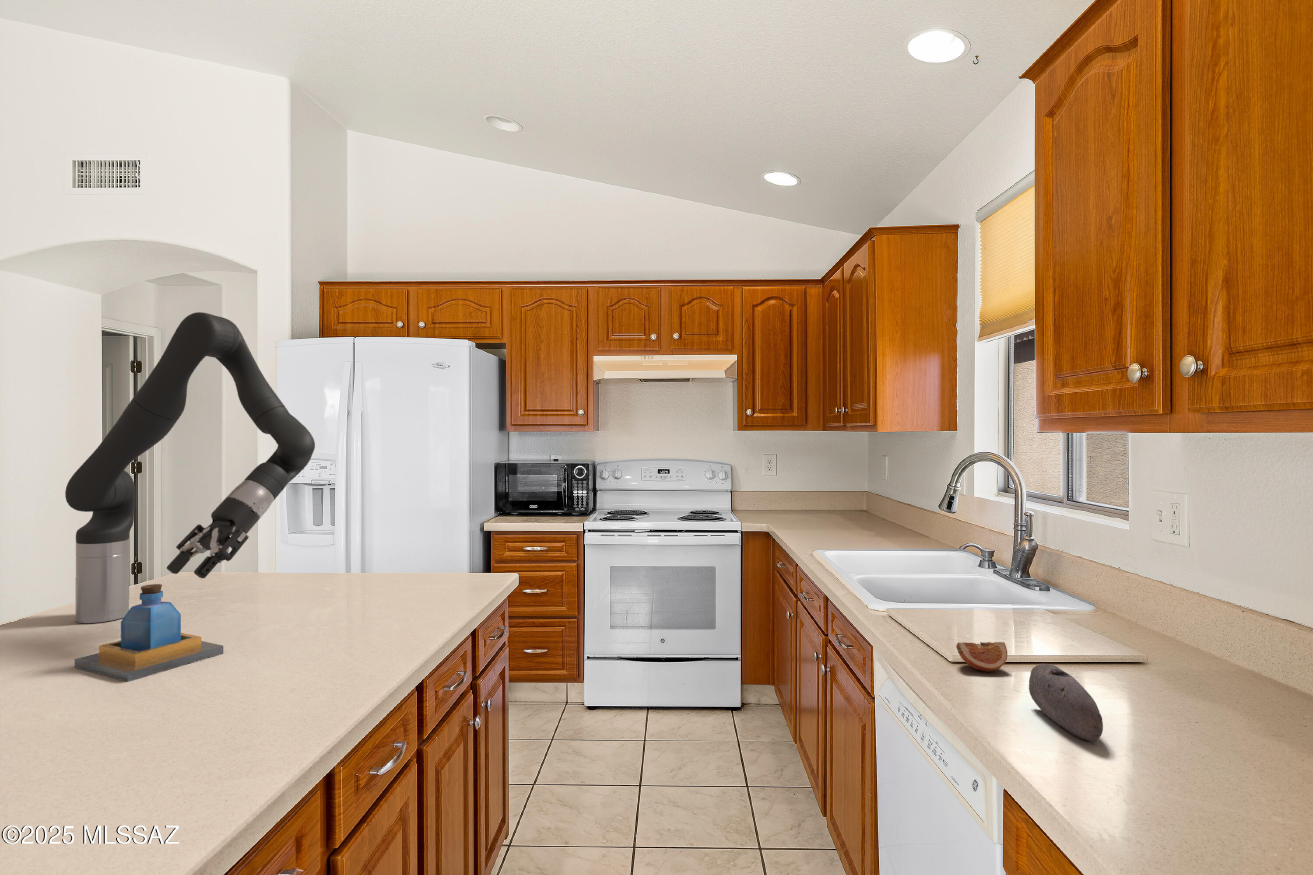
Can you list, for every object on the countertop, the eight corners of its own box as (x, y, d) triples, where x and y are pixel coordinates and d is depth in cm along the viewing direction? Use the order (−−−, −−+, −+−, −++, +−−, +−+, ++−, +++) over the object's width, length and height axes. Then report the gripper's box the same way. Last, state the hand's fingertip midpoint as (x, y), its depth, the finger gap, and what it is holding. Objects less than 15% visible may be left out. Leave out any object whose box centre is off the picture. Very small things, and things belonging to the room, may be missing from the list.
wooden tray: (74, 667, 120) (74, 647, 120) (171, 642, 134) (171, 624, 134) (127, 681, 113) (127, 660, 113) (223, 653, 127) (223, 634, 127)
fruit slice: (964, 675, 118) (964, 646, 117) (949, 662, 124) (949, 635, 124) (1013, 676, 117) (1013, 647, 117) (995, 663, 124) (995, 636, 124)
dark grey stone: (1118, 752, 89) (1118, 699, 89) (1076, 750, 90) (1076, 698, 90) (1061, 706, 104) (1061, 661, 104) (1025, 705, 105) (1025, 660, 105)
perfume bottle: (180, 647, 126) (180, 582, 126) (150, 658, 120) (150, 590, 120) (152, 645, 127) (152, 581, 127) (120, 656, 121) (120, 589, 121)
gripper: (208, 494, 140) (146, 558, 129) (254, 497, 133) (193, 565, 123) (234, 517, 144) (176, 581, 134) (278, 521, 138) (222, 588, 128)
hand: (184, 573), depth 129 cm, fingers open, 8 cm apart
